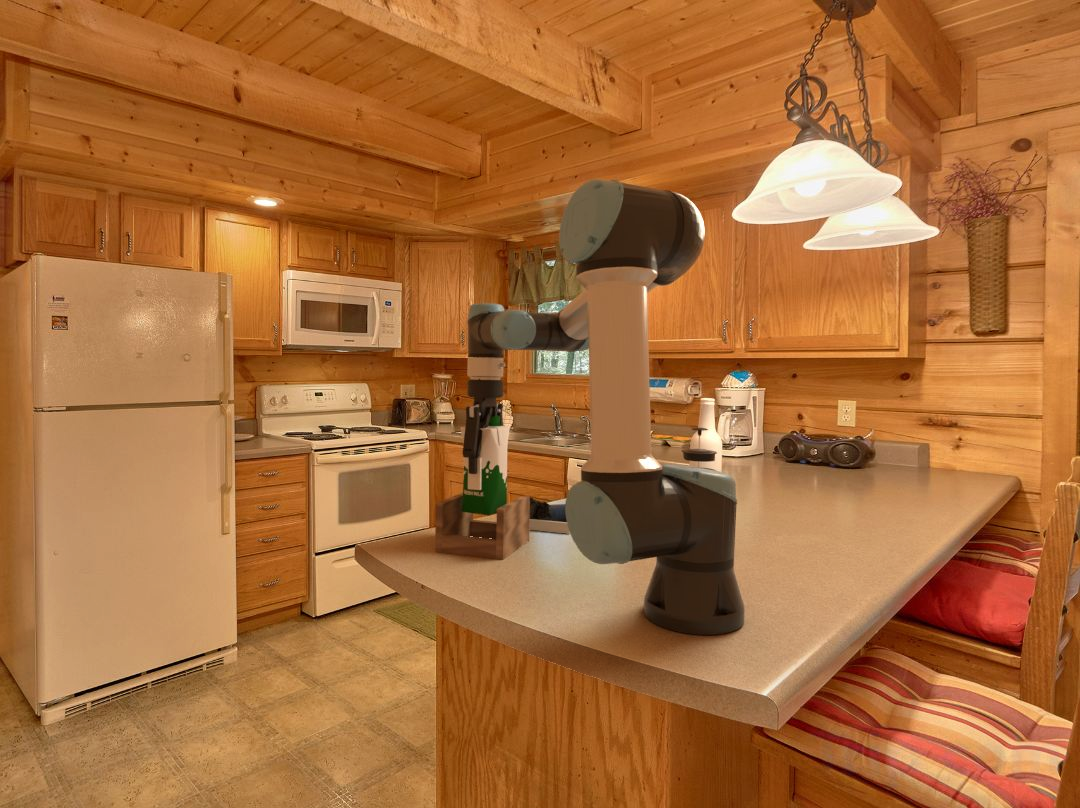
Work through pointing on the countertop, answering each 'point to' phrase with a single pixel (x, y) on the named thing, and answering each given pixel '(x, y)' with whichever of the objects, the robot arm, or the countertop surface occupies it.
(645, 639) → the countertop surface
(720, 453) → the alcohol
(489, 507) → the milk carton
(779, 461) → the countertop surface
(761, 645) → the countertop surface
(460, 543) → the wooden holder
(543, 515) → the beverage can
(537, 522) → the can cradle
